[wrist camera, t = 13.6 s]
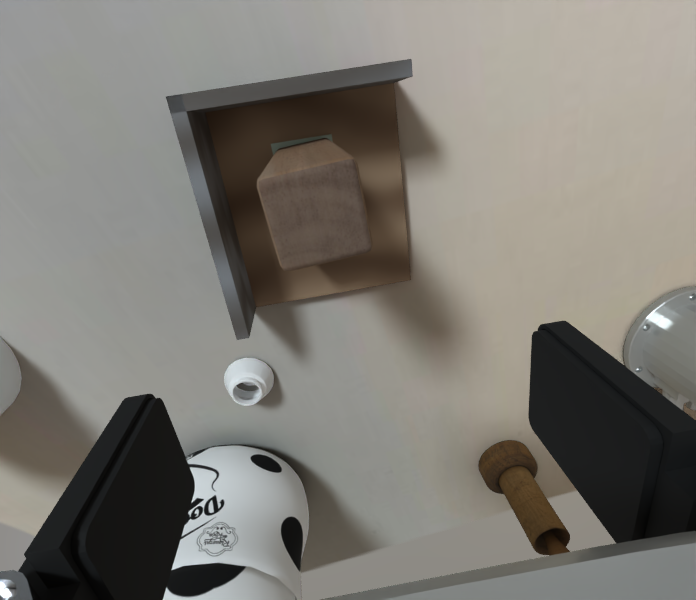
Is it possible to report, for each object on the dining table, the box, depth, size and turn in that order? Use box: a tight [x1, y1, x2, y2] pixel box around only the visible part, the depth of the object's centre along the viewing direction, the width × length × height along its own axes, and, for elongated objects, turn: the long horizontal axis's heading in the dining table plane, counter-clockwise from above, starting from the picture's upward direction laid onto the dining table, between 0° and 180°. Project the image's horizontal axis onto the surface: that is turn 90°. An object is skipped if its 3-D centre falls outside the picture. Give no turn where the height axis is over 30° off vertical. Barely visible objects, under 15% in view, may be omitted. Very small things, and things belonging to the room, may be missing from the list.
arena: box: [166, 59, 413, 340], centre depth 34 cm, size 18×16×7 cm
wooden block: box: [257, 138, 373, 271], centre depth 28 cm, size 9×4×18 cm, turn 12°
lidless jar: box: [224, 358, 274, 406], centre depth 42 cm, size 5×3×5 cm
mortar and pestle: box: [479, 440, 570, 556], centre depth 44 cm, size 7×6×18 cm
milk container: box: [163, 445, 309, 600], centre depth 41 cm, size 17×17×18 cm
